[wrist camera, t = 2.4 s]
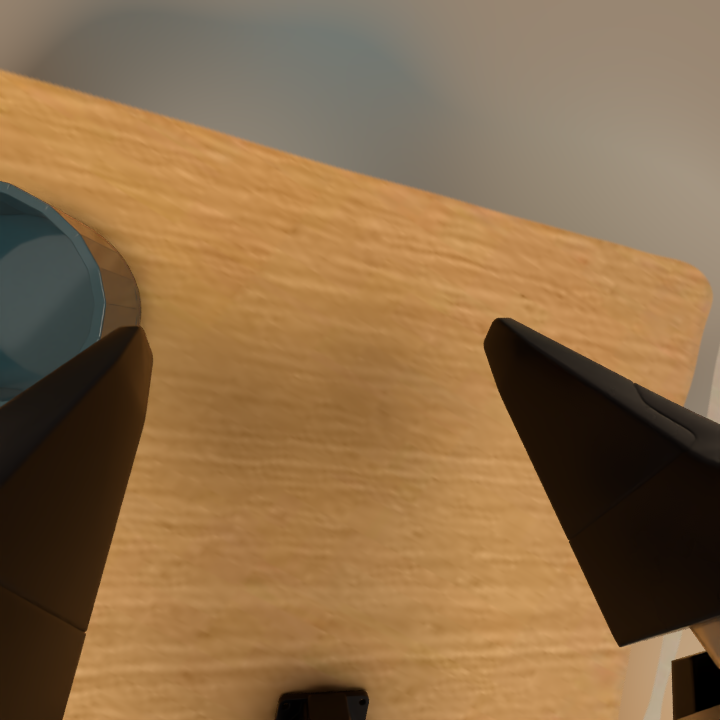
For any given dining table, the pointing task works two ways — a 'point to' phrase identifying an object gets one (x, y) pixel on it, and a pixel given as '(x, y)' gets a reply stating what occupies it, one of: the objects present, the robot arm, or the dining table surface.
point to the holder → (54, 290)
